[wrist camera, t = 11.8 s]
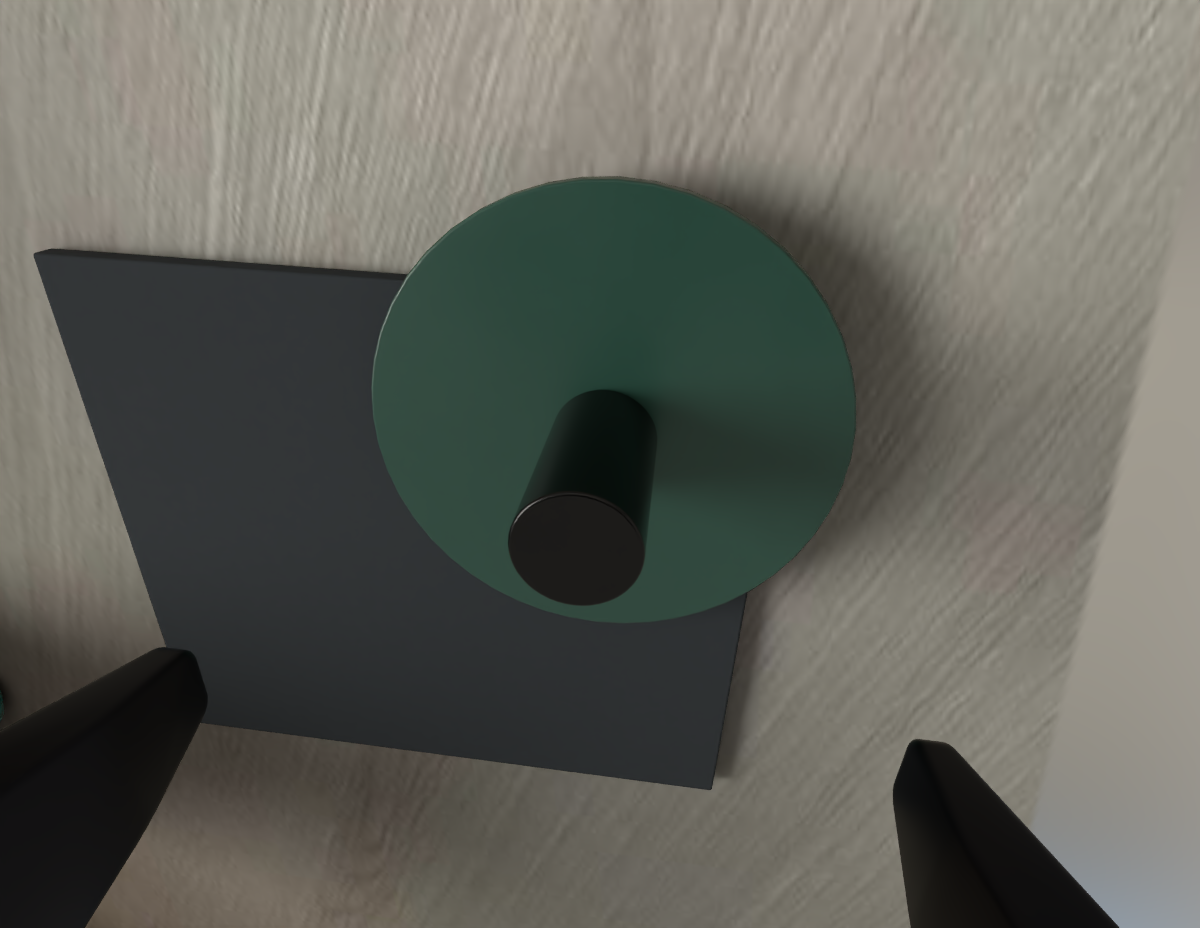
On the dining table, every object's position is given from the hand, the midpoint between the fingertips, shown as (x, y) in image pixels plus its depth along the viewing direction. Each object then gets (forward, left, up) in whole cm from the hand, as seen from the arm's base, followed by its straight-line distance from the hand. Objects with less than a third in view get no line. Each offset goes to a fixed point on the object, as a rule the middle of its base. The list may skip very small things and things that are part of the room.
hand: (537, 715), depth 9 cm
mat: (+5, +5, -10) cm, 12 cm away
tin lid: (0, 0, -9) cm, 9 cm away
